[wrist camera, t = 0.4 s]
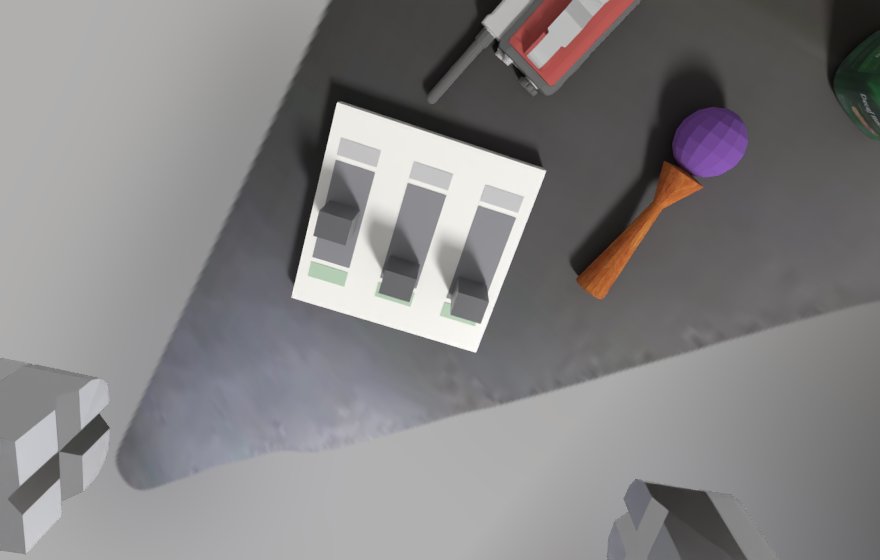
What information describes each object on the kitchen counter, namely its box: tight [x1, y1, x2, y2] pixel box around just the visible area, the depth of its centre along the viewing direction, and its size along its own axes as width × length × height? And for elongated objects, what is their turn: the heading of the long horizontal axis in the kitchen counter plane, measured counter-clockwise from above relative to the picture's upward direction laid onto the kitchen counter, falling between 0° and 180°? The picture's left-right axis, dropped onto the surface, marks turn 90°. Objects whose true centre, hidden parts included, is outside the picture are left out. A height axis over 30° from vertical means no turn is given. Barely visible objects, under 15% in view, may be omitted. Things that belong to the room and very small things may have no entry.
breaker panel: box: [291, 101, 546, 353], centre depth 53 cm, size 20×20×2 cm
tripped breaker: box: [313, 200, 360, 246], centre depth 49 cm, size 2×3×4 cm
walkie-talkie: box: [427, 0, 641, 104], centre depth 46 cm, size 9×4×20 cm
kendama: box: [576, 107, 748, 299], centre depth 50 cm, size 6×6×20 cm
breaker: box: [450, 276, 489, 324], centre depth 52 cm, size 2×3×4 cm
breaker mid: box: [378, 256, 420, 302], centre depth 51 cm, size 2×3×4 cm
